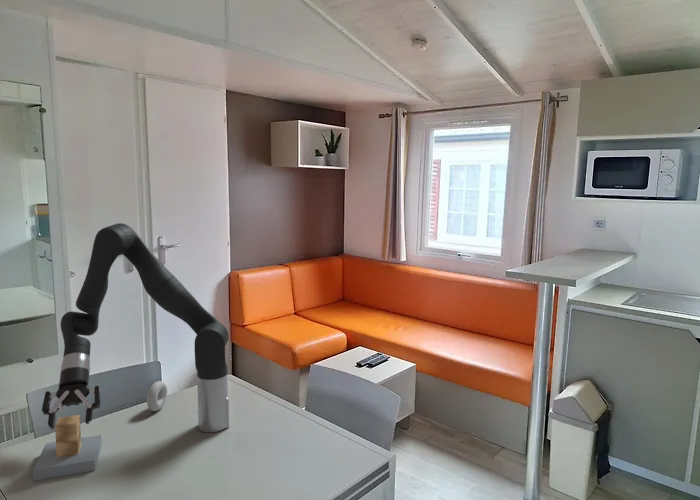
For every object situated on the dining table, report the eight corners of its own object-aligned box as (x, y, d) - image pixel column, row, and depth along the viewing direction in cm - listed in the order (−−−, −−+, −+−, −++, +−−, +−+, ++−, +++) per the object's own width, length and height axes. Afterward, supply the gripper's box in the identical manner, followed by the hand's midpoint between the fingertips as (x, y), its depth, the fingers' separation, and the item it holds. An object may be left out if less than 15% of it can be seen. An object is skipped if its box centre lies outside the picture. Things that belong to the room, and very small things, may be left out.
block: (81, 445, 133) (79, 414, 132) (78, 454, 128) (76, 423, 127) (60, 448, 131) (59, 417, 130) (56, 457, 127) (55, 425, 126)
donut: (154, 416, 157) (153, 388, 156) (145, 416, 157) (144, 387, 156) (169, 403, 167) (168, 376, 166) (160, 403, 167) (159, 376, 166)
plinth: (101, 444, 139) (101, 435, 139) (94, 470, 126) (94, 460, 126) (46, 453, 134) (46, 443, 134) (33, 481, 121) (32, 470, 121)
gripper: (44, 368, 136) (37, 424, 126) (100, 363, 141) (96, 416, 131) (50, 379, 141) (43, 434, 132) (103, 374, 146) (100, 426, 137)
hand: (69, 425), depth 132 cm, fingers open, 8 cm apart
